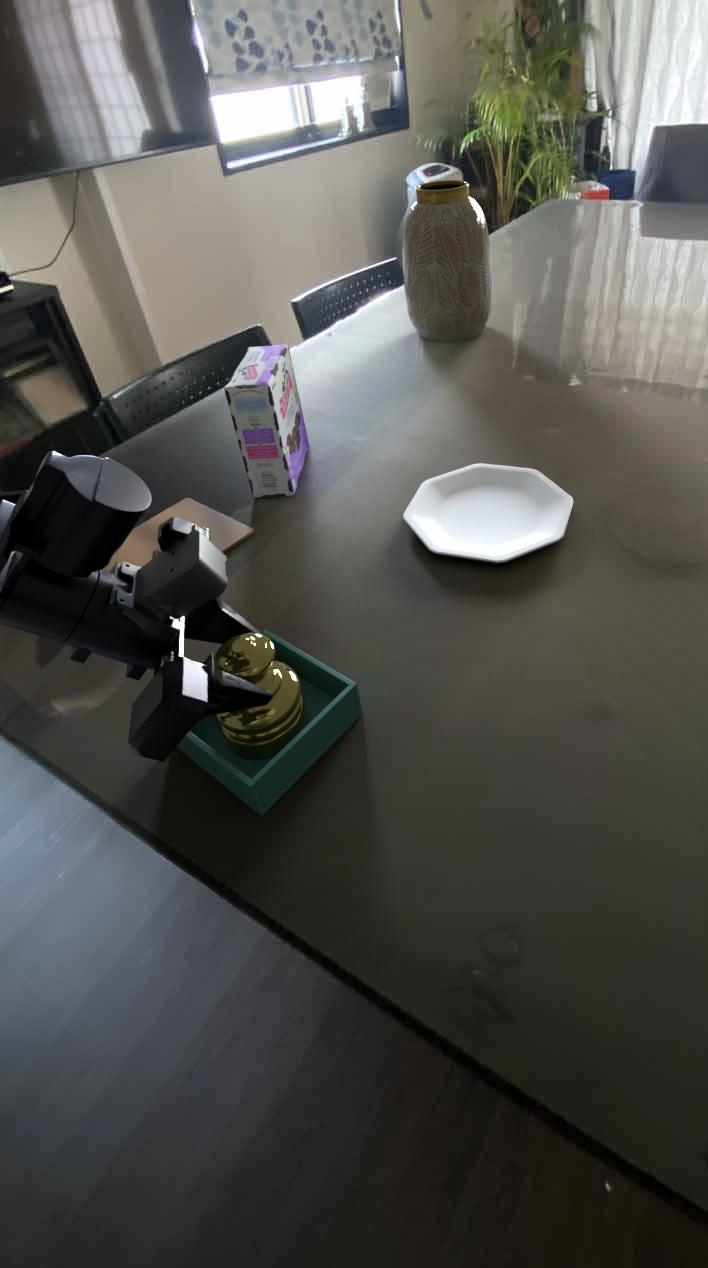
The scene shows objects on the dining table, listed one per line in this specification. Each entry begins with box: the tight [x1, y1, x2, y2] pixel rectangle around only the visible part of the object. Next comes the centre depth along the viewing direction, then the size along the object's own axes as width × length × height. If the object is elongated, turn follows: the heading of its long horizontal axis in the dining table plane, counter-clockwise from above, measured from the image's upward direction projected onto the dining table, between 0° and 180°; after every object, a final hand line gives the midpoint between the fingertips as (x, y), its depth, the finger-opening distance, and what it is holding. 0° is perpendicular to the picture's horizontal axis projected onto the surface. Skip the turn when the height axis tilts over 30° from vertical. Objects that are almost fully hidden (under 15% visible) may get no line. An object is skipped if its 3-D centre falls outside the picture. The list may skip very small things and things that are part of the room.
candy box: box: [224, 343, 310, 499], centre depth 93 cm, size 14×6×16 cm, turn 179°
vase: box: [402, 179, 494, 342], centre depth 130 cm, size 17×17×27 cm
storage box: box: [176, 629, 364, 817], centre depth 60 cm, size 12×12×4 cm
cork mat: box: [103, 496, 256, 572], centre depth 83 cm, size 18×14×1 cm
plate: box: [402, 462, 574, 565], centre depth 84 cm, size 20×20×2 cm
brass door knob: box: [214, 633, 307, 758], centre depth 58 cm, size 7×7×10 cm
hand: (267, 670), depth 57 cm, fingers open, 6 cm apart
